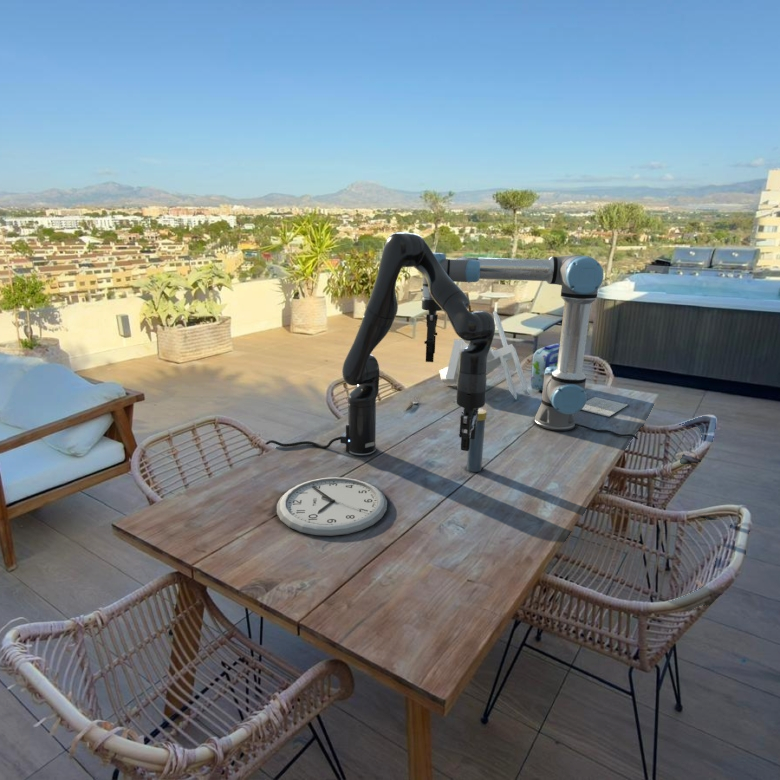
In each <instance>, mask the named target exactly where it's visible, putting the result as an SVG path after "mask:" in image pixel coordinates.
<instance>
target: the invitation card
mask: <svg viewBox="0 0 780 780" xmlns="http://www.w3.org/2000/svg"><path fill="white" fill-rule="evenodd" d="M628 406H629V404H627V403H623V402H618V401H614V400H609V399H605V398H601V397H596V396H593V397H592V398H590V399H587V401H586V404H585V406H584V407H583V408H582V409H581V410H580V411H584V412H587V413H593V414H596V415H600V416H604V417H608V418H609V417H611V416H613V415H614V414H616V413H617V412H619V411H621V410H623V409H624V408H626V407H628Z"/></svg>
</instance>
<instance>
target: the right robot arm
mask: <svg viewBox="0 0 780 780" xmlns="http://www.w3.org/2000/svg"><path fill="white" fill-rule="evenodd" d="M432 253H433V254H434V256H435V257H436V259H437V260H438V262H439V263H440V265H441V266H442V268H443V269H444V271H445V272H446V273H447V275H448V276H449V277H450V278H451V280H452V281H453V282H454V283H455V282H457V283H468V284H470V283H477V282H479V281H480V280H495V281H497V280H499V281H500V280H501V281H526V282H527V281H531V282H546V283H547V284H548V285H557V286H561V289H560V298H561V299H562V300H563V303H564V305H563V313H562V322H561V330H560V339H559V344H560V346H559V355H558V364H557V366H553V367H547V368H546V369H545V373H544V382H543V390H542V394H541V402H540V405H539V407H538V410H537V411H536V413H535V417H534V424H535V425H536V426H537V427H539V428H542V429H544V430H549V431H556V432H567V431H572V430H574V429H575V428H576V426H577V427H579V428H580V427H581V428H583V429H587V430H590V431H594V432H601V433H610V434H613V435H615V436H618V437H632V438H634V439H635V440H639V438H638V436H636V435H635V434H631V433H624V434H621V433H618V432H615V431H613V430H610V429H598V428H593V427H591V426H586V425H583V424H579V423H576V418H575V417H576V416H575V414H576V413H579V412H580V411H582V410H581V409H582V408H583V407H584V406H585V404H586V401H588V397H587V392H586V389H585V388H586V383H587V382H586V381H587V375H586V374H585V373H584V371H583V369H584V361H585V355H586V347H587V339H588V338H587V337H588V330H589V324H590V318H591V317H590V316H591V308H592V303H593V302H594V301H596V300H597V298H598V294H599V293H598V291H599V288H601V285H602V284H603V281H604V269H603V267H602V265H601V264H600V262H599V261H597V260H596V259H595V258H594V257H592V256H587V255H581V254H574V255H573V254H572V255H565V256H551V257H549V258H548V259H545V258H544V259H543V258H542V259H541V258H540V259H539V258H501V257H500V258H497V257H496V258H495V257H494V258H492V257H466V256H460V257H457V258H455V259H451V258H449V259H448V258H447V257H446V253H444V252H432ZM420 292H421V293H422V294H421V296H422V299H421V309H422V310H423V311H428V313H426V316H425V320H426V340H424V342H423V343H424V344H425V362H426V363H434V359H435V357H434V356H435V353H436V338H437V337H436V336H438V332H437V329H436V328H437V324H438V318H439V315H438V314H437V311H438V312H439V311H443V310H442V309H441V307H440V306H439V305H438V304H437V303H436V302H435V300H434V299H433V298H432V296H431V294H430V291H429V287H428V283H427V280H426V278H425V277H424V275H423V274H422V288H420Z"/></svg>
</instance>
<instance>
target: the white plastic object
mask: <svg viewBox="0 0 780 780" xmlns="http://www.w3.org/2000/svg"><path fill="white" fill-rule="evenodd" d="M492 316H493V319H494V322H495V326H496V328H497V332H498V335H499V338H500V342H501V345H502V347H500V348H498V349H496V350H495V349H493V348H492V346H491V347H490V350H489V353H488V355H487V368H486V376H487V375H489V374H490V373H492V372H494V371H495V370H496V369H497V368H499V367H500V366H502V370H503V373H504V376H505V380H506V383H507V386H508V390H509V393H510V394H511V395H512V397H513V398H514V399H515V400H517V392H516V391H517V390H516V388H515V385H514V381H513V378H512V375H511V371H510V369H509V365H508V361H510V360H513V363H514V366H515V369H516V372H517V376H518V380H519V382H520V385H521V389H522V391H523V393H524V395H525V396H526V397H528V396H531V395H530V390H529V388H528V387H529V386H528V384H527V381H526V378H525V375H524V371H523V369H522V368H523V367H522V366H521V362H520V359H519V355H518V352H517V349H516V347H515V346H514V345H513V343H511V344H508V341H507V337H506V334H505V331H504V328H503V325H502V321H501V318H500V315H499V314H498V312H497V311H496V310H495V311H492ZM468 345H469V344H468V343H466V342H465V340H463V339H462V338H459V339H458V338H454V340H453V344H452V349H451V353H450V357H449V362H448V366H446V367H444V368H442V369H440V370H439V371H438V372H439V376H440V381H442V383H443V384H444V385H445V386H449V385H457V383H458V375H459V364H460V354H461V351H462V350H463V349H465V348H466V347H467V346H468Z"/></svg>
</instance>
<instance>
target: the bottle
mask: <svg viewBox="0 0 780 780" xmlns="http://www.w3.org/2000/svg"><path fill="white" fill-rule="evenodd" d="M485 426H486V419H485V420H483V421H478V422H477V425H476V430H475V438H474V439H470V448H469V451H467V456H466V458H467V459H466V470H467V471H468V472H472V473H478V472H481V471H482V469H483V468H482V467H483V465H482V464H483V453H484V442H485V441H484V438H485V429H486V427H485Z"/></svg>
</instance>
